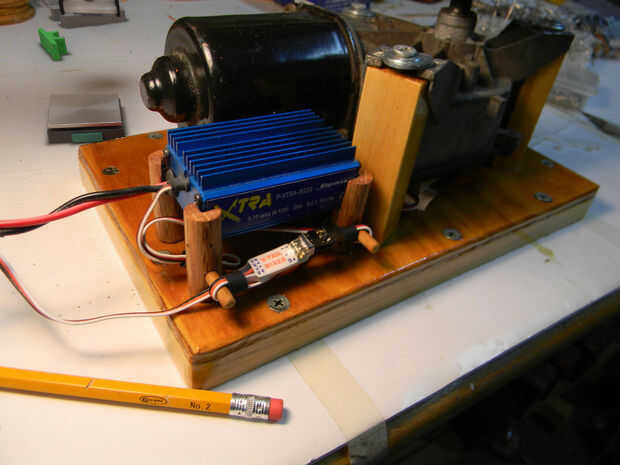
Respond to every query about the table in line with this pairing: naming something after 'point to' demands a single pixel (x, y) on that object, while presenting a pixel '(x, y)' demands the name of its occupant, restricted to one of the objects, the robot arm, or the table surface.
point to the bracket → (84, 18)
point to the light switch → (90, 7)
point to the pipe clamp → (53, 43)
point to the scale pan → (84, 110)
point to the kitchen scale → (86, 133)
